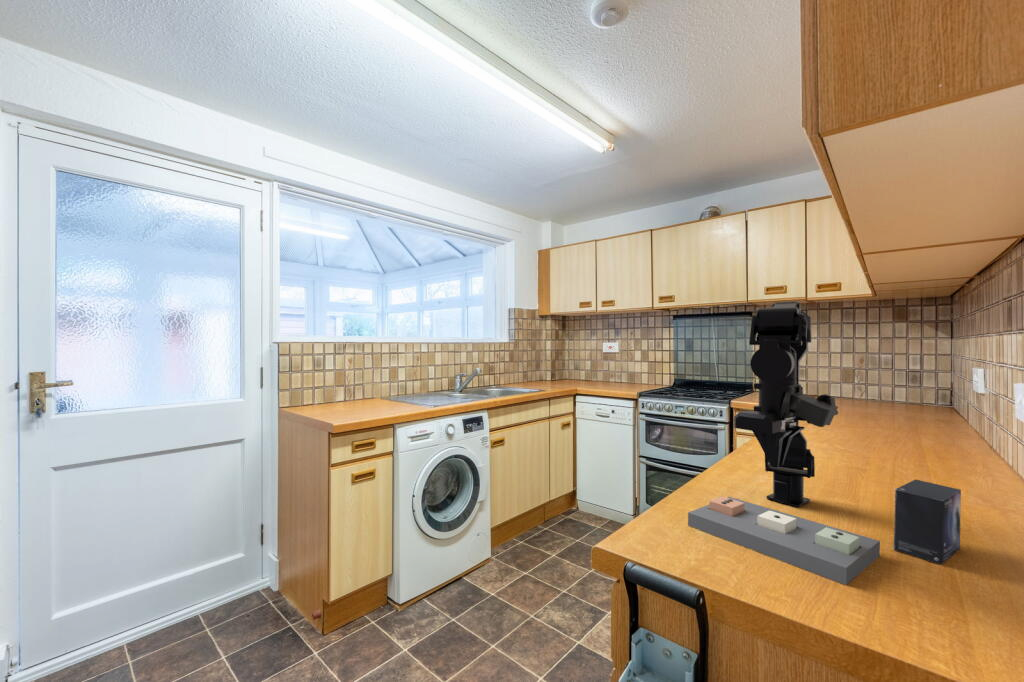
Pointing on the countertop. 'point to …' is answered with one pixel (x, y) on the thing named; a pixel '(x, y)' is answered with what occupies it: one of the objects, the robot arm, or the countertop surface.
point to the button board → (787, 541)
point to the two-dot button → (837, 541)
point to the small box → (927, 520)
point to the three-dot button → (726, 506)
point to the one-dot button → (777, 522)
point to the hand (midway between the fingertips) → (776, 466)
